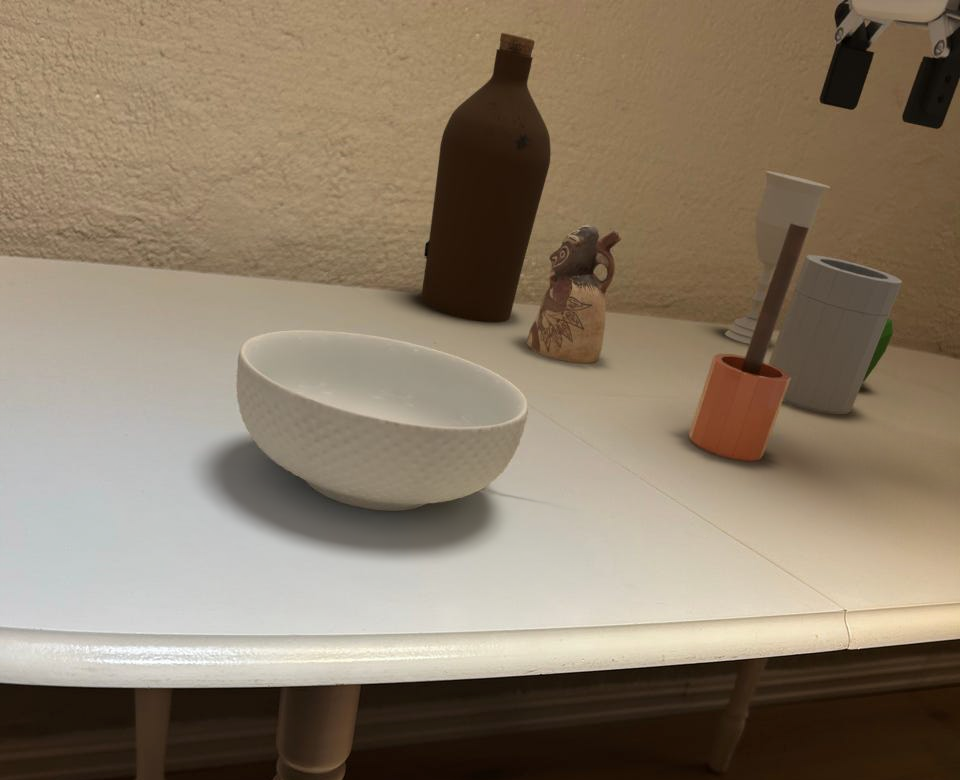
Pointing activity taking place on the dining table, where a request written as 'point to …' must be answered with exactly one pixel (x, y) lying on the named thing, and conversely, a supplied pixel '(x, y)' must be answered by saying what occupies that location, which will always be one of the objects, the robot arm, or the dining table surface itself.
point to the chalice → (777, 234)
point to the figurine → (575, 298)
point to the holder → (738, 408)
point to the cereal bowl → (377, 417)
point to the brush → (775, 297)
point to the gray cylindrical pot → (832, 331)
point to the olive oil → (487, 193)
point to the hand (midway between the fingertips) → (876, 115)
